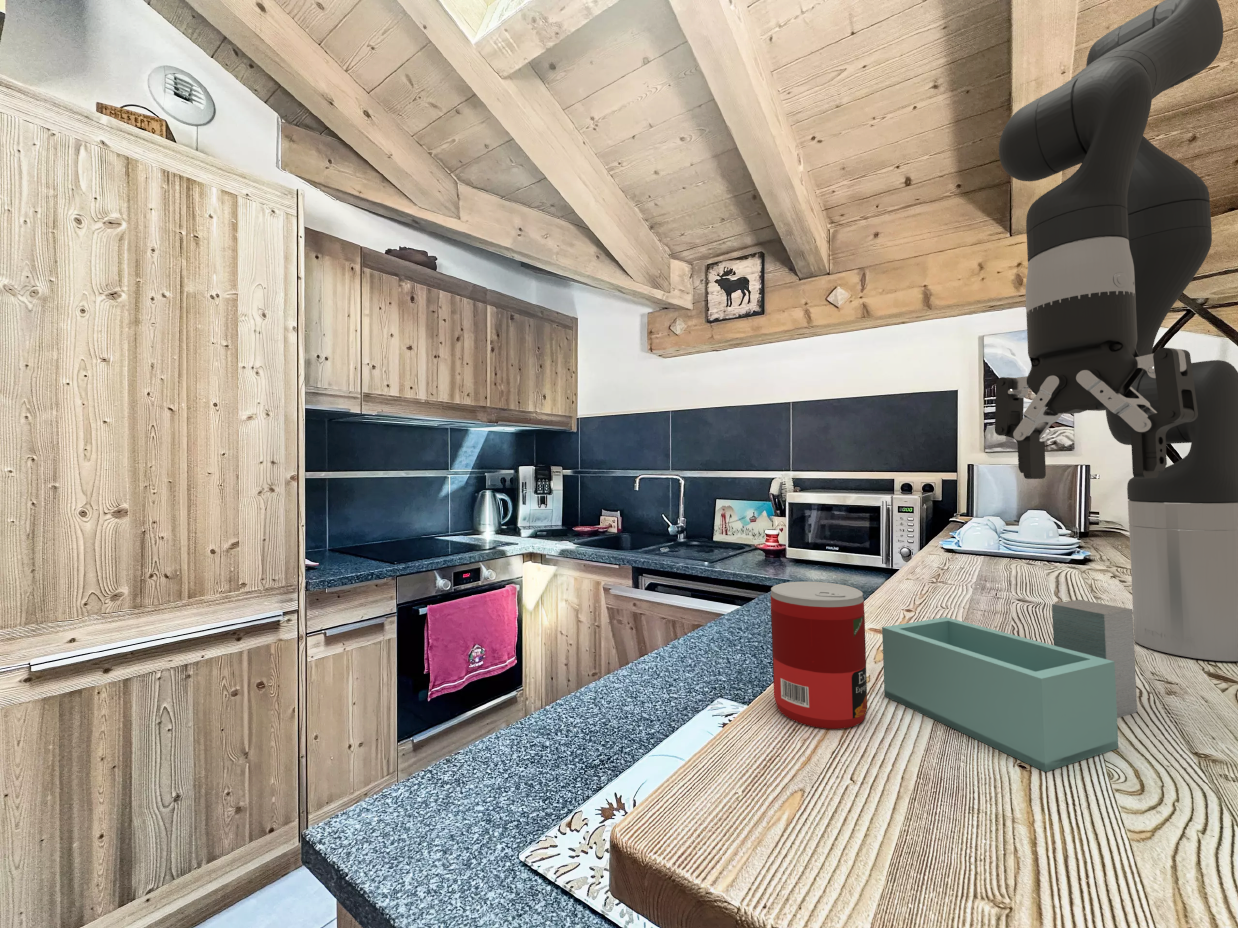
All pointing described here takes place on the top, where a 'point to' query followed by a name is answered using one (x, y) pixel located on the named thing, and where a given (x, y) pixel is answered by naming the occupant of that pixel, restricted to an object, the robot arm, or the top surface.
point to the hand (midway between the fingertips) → (1085, 478)
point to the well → (1004, 689)
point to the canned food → (819, 653)
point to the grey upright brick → (1101, 641)
